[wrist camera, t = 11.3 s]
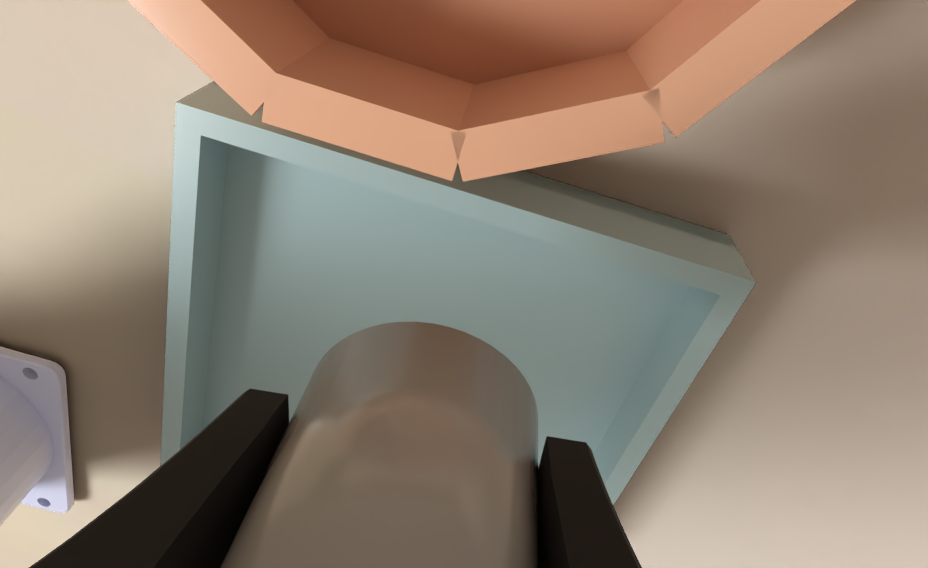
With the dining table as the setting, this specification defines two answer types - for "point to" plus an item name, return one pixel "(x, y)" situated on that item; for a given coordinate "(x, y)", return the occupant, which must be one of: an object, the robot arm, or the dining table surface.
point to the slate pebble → (402, 460)
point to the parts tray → (429, 280)
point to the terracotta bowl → (485, 70)
